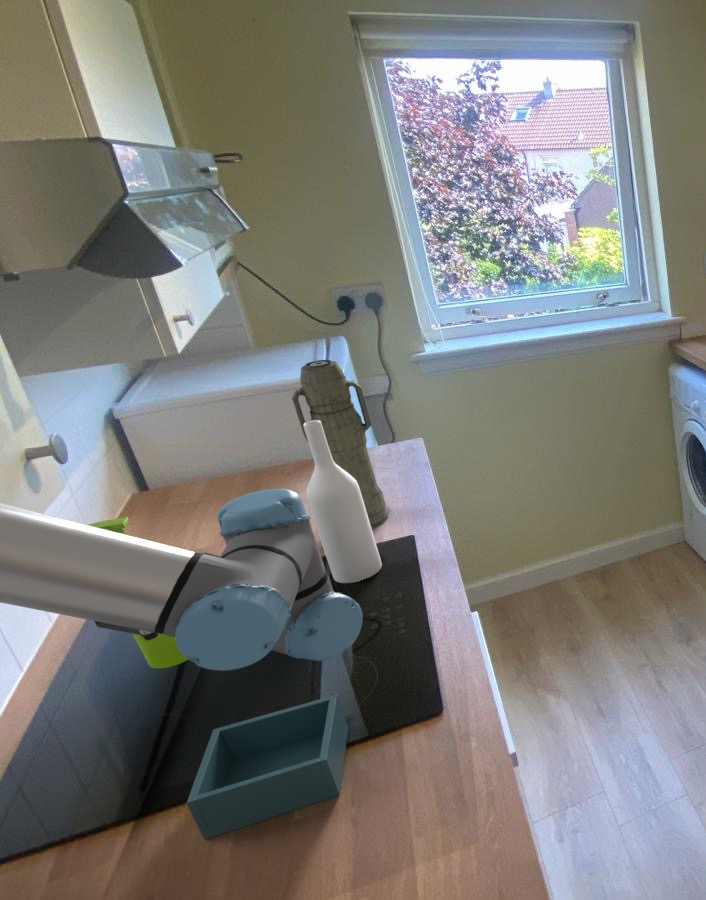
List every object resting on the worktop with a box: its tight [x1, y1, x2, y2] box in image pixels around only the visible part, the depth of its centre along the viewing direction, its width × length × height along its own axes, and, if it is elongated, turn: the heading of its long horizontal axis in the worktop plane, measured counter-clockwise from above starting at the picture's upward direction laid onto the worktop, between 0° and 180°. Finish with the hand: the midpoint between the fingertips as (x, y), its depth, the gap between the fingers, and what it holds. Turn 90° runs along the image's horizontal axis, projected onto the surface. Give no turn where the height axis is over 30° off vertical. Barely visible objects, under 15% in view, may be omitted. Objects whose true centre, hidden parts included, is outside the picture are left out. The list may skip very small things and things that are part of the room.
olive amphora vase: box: [291, 359, 389, 529], centre depth 150 cm, size 9×12×35 cm
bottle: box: [303, 420, 383, 584], centre depth 131 cm, size 8×8×30 cm
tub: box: [186, 694, 349, 841], centre depth 91 cm, size 14×13×6 cm
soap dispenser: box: [88, 516, 190, 669], centre depth 92 cm, size 6×7×20 cm
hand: (114, 578), depth 94 cm, fingers closed on soap dispenser, 6 cm apart
